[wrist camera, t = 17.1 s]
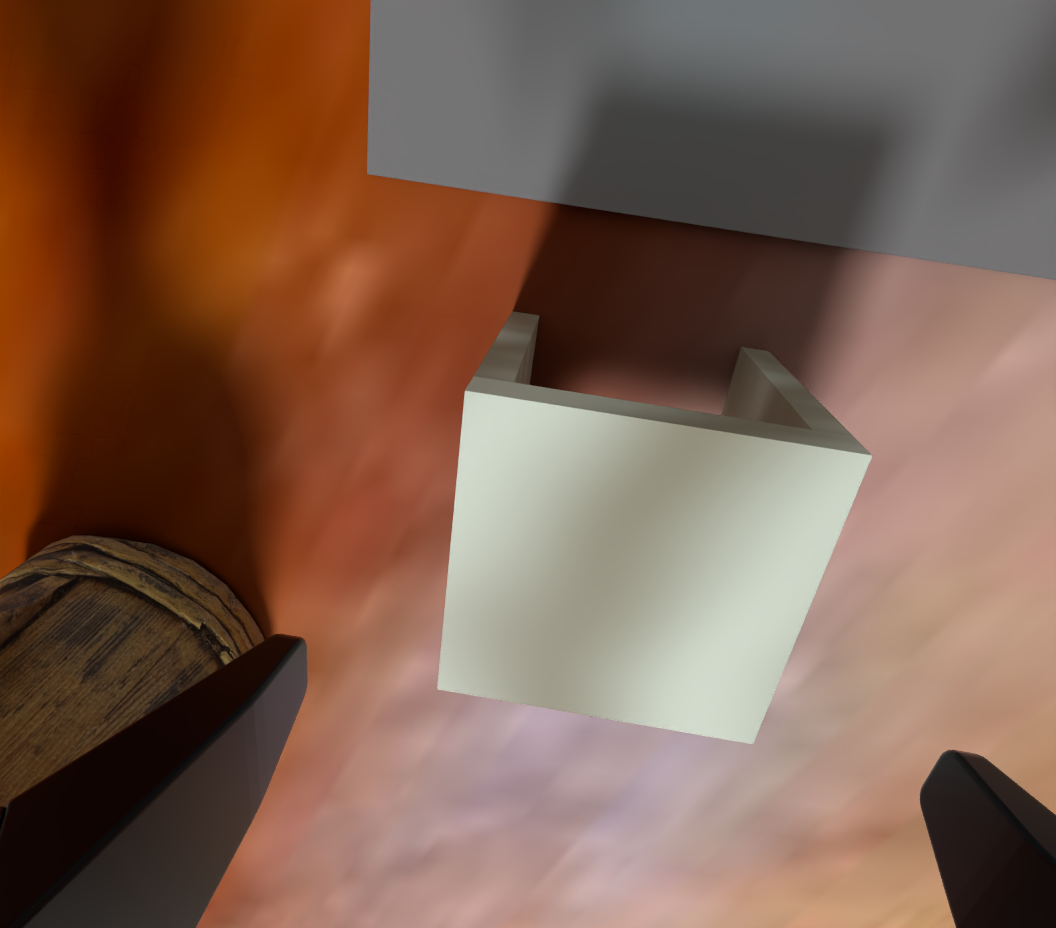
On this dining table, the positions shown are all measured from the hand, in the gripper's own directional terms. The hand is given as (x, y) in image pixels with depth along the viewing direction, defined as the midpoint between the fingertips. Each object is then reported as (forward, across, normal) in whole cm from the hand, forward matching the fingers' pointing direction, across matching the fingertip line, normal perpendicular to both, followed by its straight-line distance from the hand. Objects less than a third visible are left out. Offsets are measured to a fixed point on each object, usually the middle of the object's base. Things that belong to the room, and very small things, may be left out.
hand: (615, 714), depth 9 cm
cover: (+10, 0, 0) cm, 10 cm away
